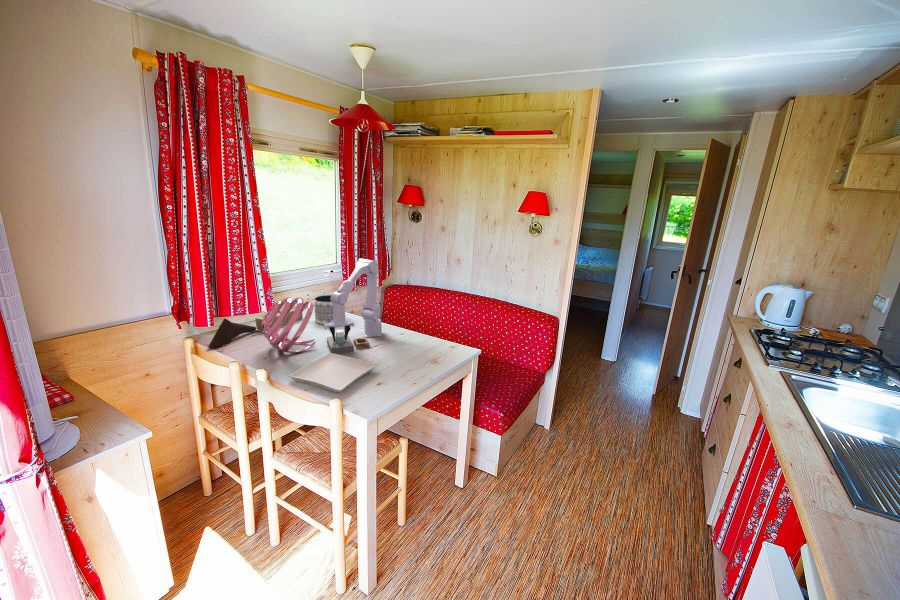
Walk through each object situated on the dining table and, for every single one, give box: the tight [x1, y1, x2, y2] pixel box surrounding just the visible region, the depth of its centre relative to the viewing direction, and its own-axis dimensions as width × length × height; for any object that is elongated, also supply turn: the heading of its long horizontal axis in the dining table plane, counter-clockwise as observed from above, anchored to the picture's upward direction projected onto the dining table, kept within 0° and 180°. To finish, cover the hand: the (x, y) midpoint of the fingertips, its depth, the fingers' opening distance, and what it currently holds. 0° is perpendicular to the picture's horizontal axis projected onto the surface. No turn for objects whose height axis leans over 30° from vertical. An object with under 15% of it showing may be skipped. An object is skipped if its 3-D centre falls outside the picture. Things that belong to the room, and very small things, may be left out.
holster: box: [207, 318, 257, 349], centre depth 200 cm, size 5×16×25 cm
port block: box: [326, 334, 355, 355], centre depth 198 cm, size 11×16×4 cm
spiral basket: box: [262, 296, 316, 354], centre depth 191 cm, size 28×28×27 cm
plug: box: [335, 329, 345, 344], centre depth 197 cm, size 4×4×8 cm
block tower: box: [254, 304, 304, 332], centre depth 226 cm, size 8×8×29 cm
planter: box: [313, 294, 334, 325], centre depth 236 cm, size 16×16×14 cm
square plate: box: [287, 352, 377, 393], centre depth 168 cm, size 27×27×4 cm
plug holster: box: [352, 337, 370, 349], centre depth 203 cm, size 7×8×2 cm
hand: (339, 340), depth 198 cm, fingers open, 5 cm apart
